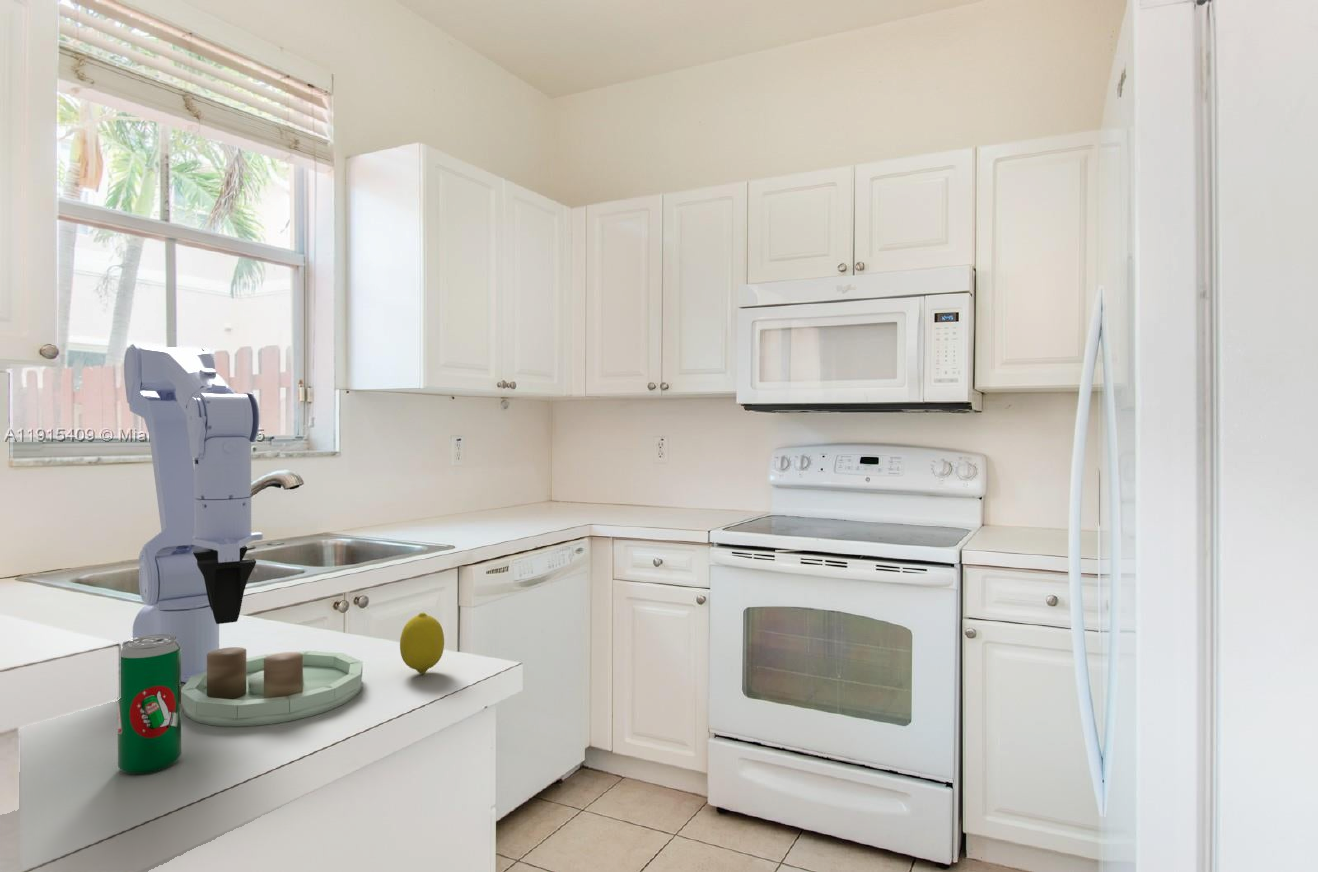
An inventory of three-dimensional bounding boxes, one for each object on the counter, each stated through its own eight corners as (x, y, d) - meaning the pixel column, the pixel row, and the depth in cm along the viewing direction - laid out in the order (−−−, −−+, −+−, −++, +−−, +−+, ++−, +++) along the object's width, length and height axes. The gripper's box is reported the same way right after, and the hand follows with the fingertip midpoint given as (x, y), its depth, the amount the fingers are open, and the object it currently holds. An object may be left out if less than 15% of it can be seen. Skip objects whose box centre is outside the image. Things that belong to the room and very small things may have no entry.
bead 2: (268, 696, 89) (268, 653, 89) (305, 693, 90) (305, 651, 90) (259, 708, 85) (259, 663, 85) (298, 705, 86) (299, 661, 86)
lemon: (431, 682, 98) (431, 619, 97) (391, 679, 99) (391, 616, 99) (451, 668, 103) (451, 608, 103) (413, 665, 104) (413, 606, 104)
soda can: (137, 754, 76) (137, 632, 76) (191, 752, 76) (191, 632, 76) (105, 777, 71) (104, 648, 71) (163, 776, 71) (162, 647, 71)
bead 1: (209, 703, 87) (209, 659, 87) (204, 693, 90) (204, 650, 90) (249, 696, 89) (249, 653, 89) (243, 686, 92) (243, 645, 92)
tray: (141, 718, 85) (141, 696, 85) (262, 665, 104) (262, 647, 104) (294, 733, 81) (294, 710, 81) (391, 675, 100) (391, 656, 100)
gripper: (270, 501, 85) (270, 624, 86) (254, 490, 97) (255, 598, 98) (195, 504, 81) (196, 633, 82) (189, 493, 93) (189, 605, 94)
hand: (223, 614), depth 89 cm, fingers open, 7 cm apart
